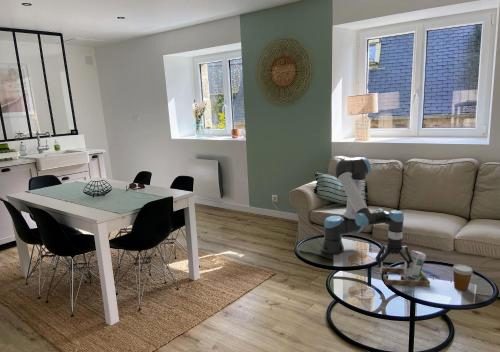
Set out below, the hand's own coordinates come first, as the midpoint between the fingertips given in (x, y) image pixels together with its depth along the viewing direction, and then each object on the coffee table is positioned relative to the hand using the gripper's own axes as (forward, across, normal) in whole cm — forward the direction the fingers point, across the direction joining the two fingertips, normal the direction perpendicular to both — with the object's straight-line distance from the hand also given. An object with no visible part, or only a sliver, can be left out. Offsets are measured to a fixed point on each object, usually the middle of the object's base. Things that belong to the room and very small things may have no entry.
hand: (393, 272), depth 213 cm
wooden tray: (+3, +5, -2) cm, 6 cm away
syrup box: (+2, +10, 0) cm, 10 cm away
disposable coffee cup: (+3, +33, -10) cm, 35 cm away
